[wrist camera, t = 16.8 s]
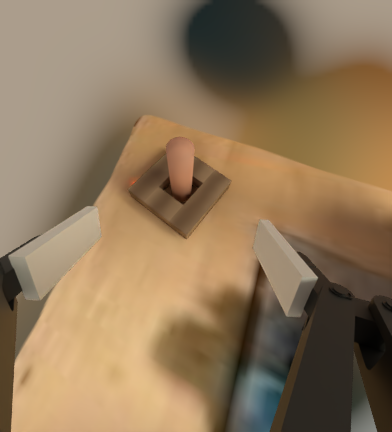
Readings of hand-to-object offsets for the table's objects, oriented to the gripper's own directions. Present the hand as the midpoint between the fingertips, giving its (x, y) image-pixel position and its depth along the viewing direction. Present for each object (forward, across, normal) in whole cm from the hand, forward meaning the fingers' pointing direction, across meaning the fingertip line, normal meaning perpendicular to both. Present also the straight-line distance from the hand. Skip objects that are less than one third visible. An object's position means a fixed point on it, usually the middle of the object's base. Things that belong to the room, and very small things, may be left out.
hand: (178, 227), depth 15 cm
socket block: (+23, -2, -4) cm, 23 cm away
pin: (+23, -2, -4) cm, 23 cm away
